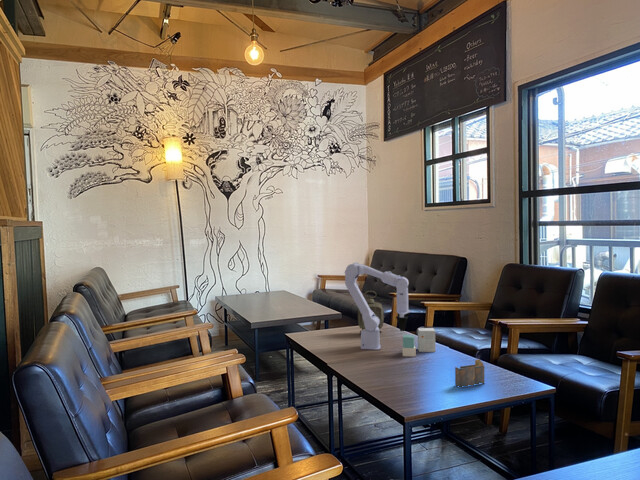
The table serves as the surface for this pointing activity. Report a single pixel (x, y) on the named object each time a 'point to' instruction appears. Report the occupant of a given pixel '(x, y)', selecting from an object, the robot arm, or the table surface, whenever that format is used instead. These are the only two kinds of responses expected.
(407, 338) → the teal cube
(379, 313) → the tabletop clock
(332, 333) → the table surface
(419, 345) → the small box
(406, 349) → the cream block
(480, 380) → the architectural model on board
